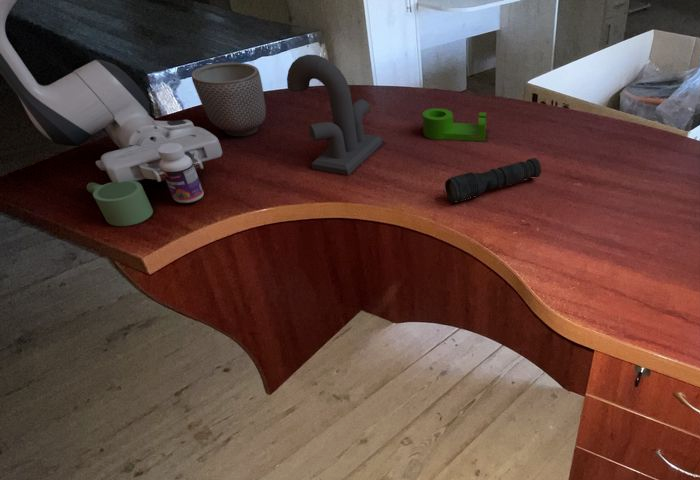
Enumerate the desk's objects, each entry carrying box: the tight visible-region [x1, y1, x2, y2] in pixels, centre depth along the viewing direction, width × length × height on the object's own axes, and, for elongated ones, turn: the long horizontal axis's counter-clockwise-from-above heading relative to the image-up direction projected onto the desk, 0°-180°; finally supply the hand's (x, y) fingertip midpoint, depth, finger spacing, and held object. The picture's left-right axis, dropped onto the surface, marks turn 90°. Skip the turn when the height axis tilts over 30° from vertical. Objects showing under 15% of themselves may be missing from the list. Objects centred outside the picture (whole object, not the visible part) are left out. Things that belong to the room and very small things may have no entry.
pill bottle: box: [157, 143, 205, 204], centre depth 99 cm, size 5×5×10 cm
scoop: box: [86, 180, 154, 227], centre depth 97 cm, size 12×8×5 cm, turn 65°
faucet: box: [286, 54, 384, 176], centre depth 114 cm, size 18×16×20 cm
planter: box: [191, 61, 267, 137], centre depth 122 cm, size 14×14×13 cm
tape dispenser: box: [422, 107, 487, 142], centre depth 129 cm, size 15×7×5 cm, turn 89°
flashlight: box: [444, 157, 542, 204], centre depth 109 cm, size 5×21×5 cm, turn 123°
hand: (180, 171), depth 99 cm, fingers closed on pill bottle, 5 cm apart
